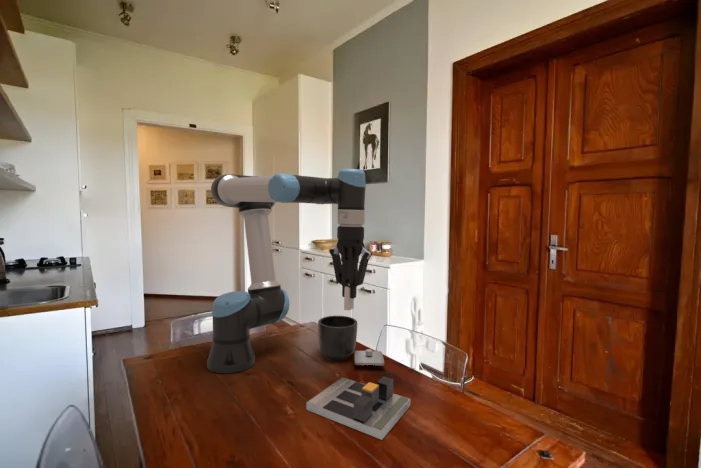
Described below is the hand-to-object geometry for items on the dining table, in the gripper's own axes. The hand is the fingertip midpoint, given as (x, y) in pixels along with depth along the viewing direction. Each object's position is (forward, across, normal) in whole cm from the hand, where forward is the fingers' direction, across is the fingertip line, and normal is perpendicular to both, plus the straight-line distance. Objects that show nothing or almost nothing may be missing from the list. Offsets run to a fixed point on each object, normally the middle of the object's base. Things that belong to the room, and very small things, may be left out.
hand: (348, 308), depth 101 cm
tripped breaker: (+22, +10, -5) cm, 25 cm away
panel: (+24, +7, -5) cm, 26 cm away
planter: (+25, -16, +19) cm, 35 cm away
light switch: (+25, -4, +20) cm, 32 cm away
